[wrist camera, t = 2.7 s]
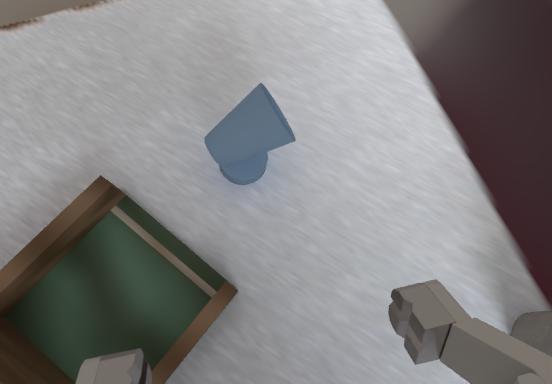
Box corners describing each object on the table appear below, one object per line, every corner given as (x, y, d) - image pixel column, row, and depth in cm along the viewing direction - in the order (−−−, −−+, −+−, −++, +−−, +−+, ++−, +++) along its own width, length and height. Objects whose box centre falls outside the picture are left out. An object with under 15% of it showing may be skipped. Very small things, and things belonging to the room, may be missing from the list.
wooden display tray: (118, 188, 30) (89, 167, 24) (237, 289, 29) (237, 293, 23) (-15, 318, 26) (-88, 331, 20) (116, 440, 25) (79, 490, 19)
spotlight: (267, 125, 33) (202, 152, 31) (279, 62, 23) (186, 97, 22) (290, 167, 32) (225, 198, 30) (312, 120, 22) (219, 162, 21)
